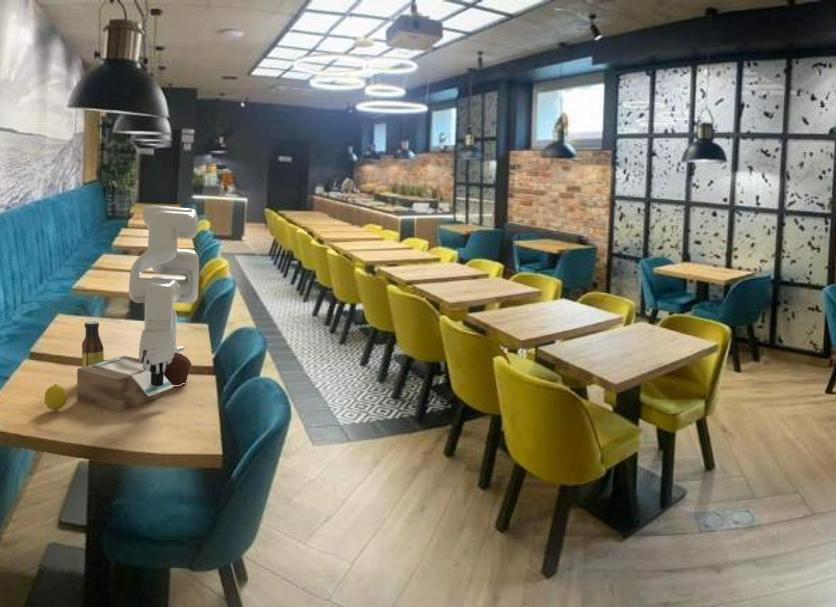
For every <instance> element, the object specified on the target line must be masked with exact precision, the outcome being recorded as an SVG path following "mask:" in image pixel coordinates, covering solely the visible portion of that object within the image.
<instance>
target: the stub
mask: <svg viewBox="0 0 836 607" xmlns="http://www.w3.org/2000/svg"><path fill="white" fill-rule="evenodd" d="M132 378H133V379H134V380H135V381H136V382H137V384H138V385H139V386H140V387H141V388H142V390H143V391H144V392H145V393H146V394H147V395H148V397H149V396H152V395H154V394H157V393H160V392H163V391H164V392H165V391H168V390H170V389H173V388H175V387H174V386H173V385H172V384H171V383H170V381H168V379H167V378H166V377H165V376H164V375H163V385H162V386H159V387H158V386H154V385H151V372H149V370H148V371H145V372H142V373H139V374H136V375H133V376H132Z"/></svg>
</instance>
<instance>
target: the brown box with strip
mask: <svg viewBox="0 0 836 607" xmlns="http://www.w3.org/2000/svg"><path fill="white" fill-rule="evenodd" d="M142 367H143V363H140V362H139V358H136V357H133V356H132V357H131V356H128V355H122V356H119V357H115V358H112V359H111V358H110V359H108V360H104V362H100V363H96V364H93V365H89V366H86V367H79V368H77V369H76V371H77V372H76V373H77V374H76V375H77V377H76V379H77V380H76V381H77V382H76V383H77V384H76V385H77V386H76V387H77V389H76V394H77V395H76V396H77V399H76V400H77V402H79V403H80V402H81V403H83V404H84V403H85V404H88V405H91V406H95V407H99V408H103V409H106V410H109V411H112V412H113V411H114V412H117V413H121V412H123V411H126V410H128V409H131V408H133V407H134V408H135V407H137V406H139V405H142V404H144V403H145V404H146V402H150V401H153V400H154V399H157V398H160V397H163V396H164V393H165V391H163V392H160V393H157V394H154V395H152V396H149V397H148V395H147V394H146V393H145V392H144V391H143V390H142V388H141V387H140V386H139V385H138V384H137V382H136V381H135V380H134V379H133V378H132V376H133V375H136V374H139V373H142V372H145V371H148V369H143V368H142ZM163 373H164V372H163ZM162 395H163V396H162Z"/></svg>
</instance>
